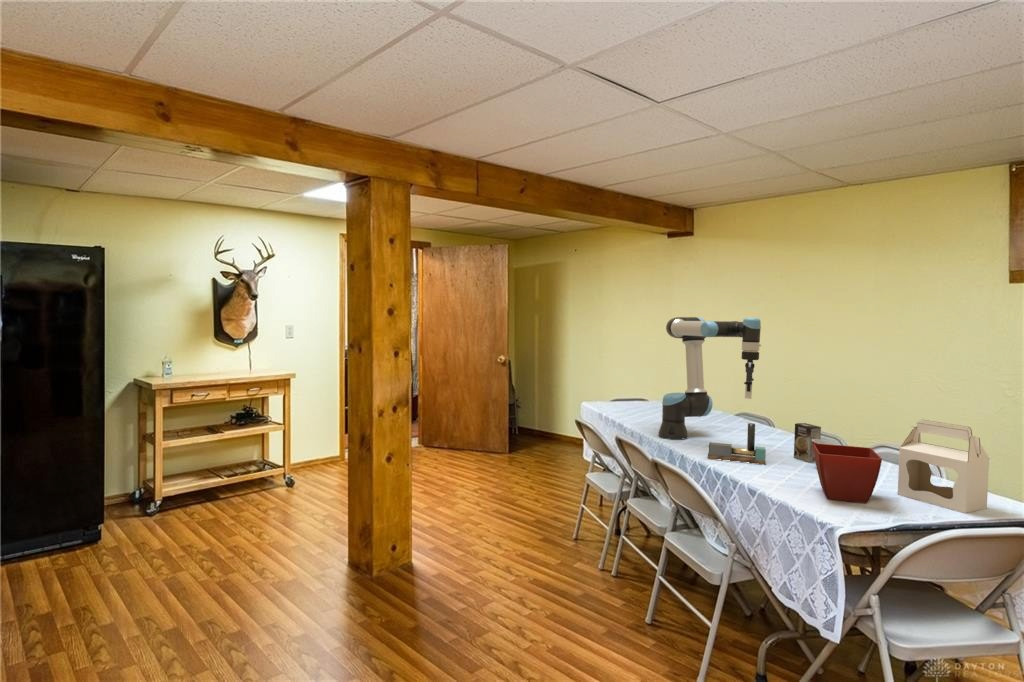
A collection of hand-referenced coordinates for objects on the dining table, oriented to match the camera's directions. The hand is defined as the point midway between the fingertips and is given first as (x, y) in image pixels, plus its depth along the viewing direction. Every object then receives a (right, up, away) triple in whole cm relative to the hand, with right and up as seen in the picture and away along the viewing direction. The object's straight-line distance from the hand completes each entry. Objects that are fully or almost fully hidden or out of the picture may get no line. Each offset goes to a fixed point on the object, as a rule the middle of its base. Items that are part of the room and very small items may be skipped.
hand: (748, 396), depth 263 cm
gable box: (+42, -31, -63) cm, 82 cm away
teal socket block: (0, -27, -13) cm, 30 cm away
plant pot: (+10, -31, -59) cm, 67 cm away
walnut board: (-9, -28, -9) cm, 31 cm away
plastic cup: (+23, -29, -22) cm, 43 cm away
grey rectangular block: (-16, -26, -6) cm, 31 cm away
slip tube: (-6, -25, -10) cm, 28 cm away
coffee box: (+24, -28, -7) cm, 38 cm away
